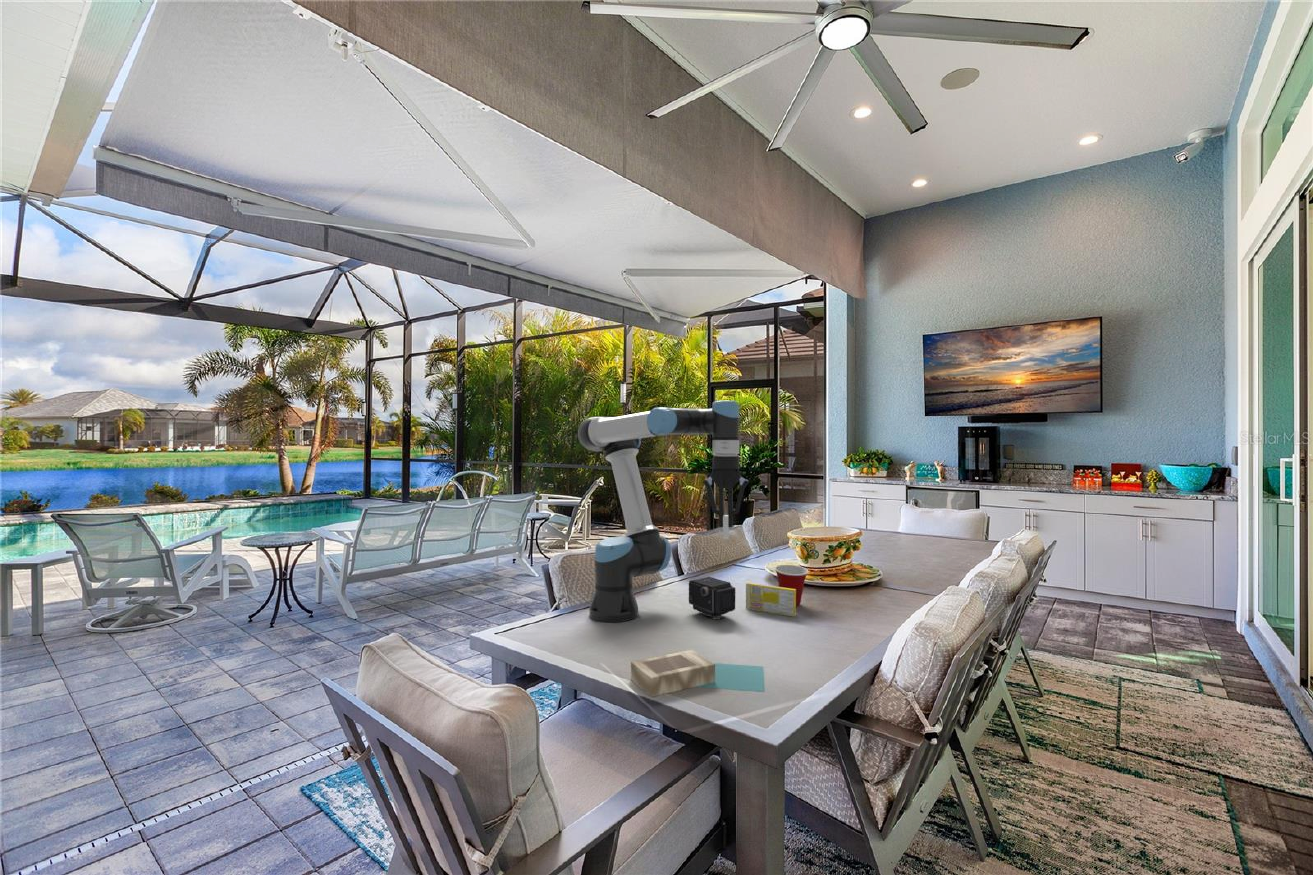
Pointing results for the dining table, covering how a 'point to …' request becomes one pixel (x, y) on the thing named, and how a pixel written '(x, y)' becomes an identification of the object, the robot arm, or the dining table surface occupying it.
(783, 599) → the candy box
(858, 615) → the dining table surface
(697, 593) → the camera
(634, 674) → the light brown rectangular block
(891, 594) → the dining table surface
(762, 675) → the mat
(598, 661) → the dining table surface
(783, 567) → the plastic cup
